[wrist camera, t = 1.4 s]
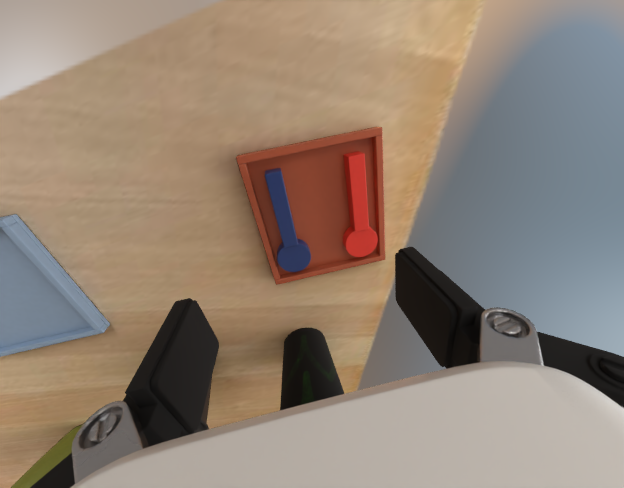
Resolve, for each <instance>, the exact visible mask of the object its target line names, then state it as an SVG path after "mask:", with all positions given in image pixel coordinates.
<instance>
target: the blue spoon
mask: <svg viewBox="0 0 624 488" xmlns="http://www.w3.org/2000/svg"><path fill="white" fill-rule="evenodd" d="M265 179H266V183H267V187H268V190H269V194H270V198H271V201H272V205H273V209H274V212H275V216H276V220H277V224H278V227H279V231H280V235H281V238H282V243H281V244H280V245H279V247H278V250H277V261H278V264H279V265H280V267H281V268H282V269H284V270H286V271H289V272H298V271H301V270H303V269H305V268H306V267H307V266H308V265H309V263H310V260H311V253H310V249H309V246H308V245H307V243H306V242H304V241H303V240H301V239H297V236H296V232H295V227H294V223H293V219H292V214H291V210H290V206H289V201H288V197H287V193H286V188H285V184H284V180H283V175H282V171H281V168H276V169H271V170H266V171H265Z"/></svg>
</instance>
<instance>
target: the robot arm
mask: <svg viewBox="0 0 624 488" xmlns="http://www.w3.org/2000/svg"><path fill="white" fill-rule="evenodd" d="M395 277H396V301H397V303H398V305H399V306H400V308H401V309H402V311H403V312H404V314H405V315H406V316H407V318H408V319H409V321H410V322H411V324H412V325H413V327H414V328H415V330H416V331H417V332H418V334H419V336H420V337H421V338H422V340H423V341H424V343H425V344H426V346H427V347H428V349H429V350H430V351H431V353H432V355H433V356H434V357H435V359H436V360H437V362H438V363H439V364H440V365H441V366H442V367H444V366H445V367H446V369H444V370H440V371H435V372H431V373H427V374H422V375H418V376H414V377H410V378H406V379H402V380H398V381H394V382H390V383H386V384H382V385H378V386H374V387H370V388H366V389H362V390H358V391H354V392H350V393H346V394H342V395H338V396H334V397H331V398H327V399H323V400H319V401H315V402H311V403H307V404H303V405H300V406H296V407H292V408H288V409H284V410H280V411H276V412H273V413H269V414H265V415H261V416H257V417H254V418H250V419H246V420H242V421H238V422H235V423H231V424H227V425H223V426H220V427H216V428H212V429H208V430H204V431H201V432H197V433H194V432H195V431H196V430H197V429H198V428H199V425H200V421H201V417H202V413H203V409H204V405H205V401H206V397H207V393H208V389H209V385H210V381H211V377H212V373H213V369H214V365H215V361H216V357H217V352H218V348H219V342H218V339H217V337H216V336H215V334H214V332H213V330H212V328H211V327H210V325H209V323H208V321H207V319H206V317H205V316H204V314H203V312H202V310H201V308H200V307H199V305H198V303H197V301H195V300H194V301H193V300H192V299H190V298H188V299H184V300H180V301H176V302H175V303H174V305H173V307H172V309H171V310H170V312H169V314H168V316H167V318H166V319H165V321H164V323H163V325H162V327H161V328H160V330H159V332H158V334H157V336H156V337H155V339H154V341H153V343H152V345H151V346H150V348H149V350H148V352H147V354H146V355H145V357H144V359H143V361H142V363H141V365H140V366H139V368H138V370H137V372H136V374H135V375H134V377H133V379H132V381H131V383H130V384H129V386H128V388H127V390H126V392H125V393H126V394H127V395H126V396H125V398H124V400H123V401H115V402H112V403H110V404H107V405H105V406H104V407H102V408H101V409H99V410H98V411H96V412H95V413H94V414H93V415H92V416H91V417H89V419H88V420H87V421H86V422H85V423H84V424H83V425H82V426H81V428H80V429H79V431H78V432H77V434H76V436H75V438H74V440H73V443H72V453H70V454H69V455H68V456H67V457H66V458H64V459H63V460H62V461H61V462H60V463H59V464H57V465H56V466H55V467H54V468H53V469H51V470H50V471H49V472H48V473H47V474H45V475H44V476H43V477H42V478H41V479H40V480H38V481H37V482H36V483H35V484H34V485H32V486H31V487H30V488H624V357H622V356H619V355H616V354H614V353H610V352H607V351H603V350H600V349H596V348H593V347H589V346H586V345H582V344H579V343H575V342H572V341H568V340H565V339H561V338H558V337H554V336H550V335H547V334H544V333H540V332H537V330H536V328H535V326H534V324H533V323H532V322H531V321H530V320H529V319H527V318H526V317H525V316H523V315H522V314H519V313H517V312H515V311H513V310H509V309H505V308H490V309H487V310H485V309H484V308H482V307H481V306H480V305H479V304H478V303H477V302H475V300H473V299H472V298H471V297H470V296H469V295H468V294H467V293H465V292H464V291H463V290H462V289H461V288H460V287H459V286H458V285H456V284H455V283H454V282H453V281H452V280H451V279H450V278H449V277H447V276H446V275H445V274H444V273H443V272H442V271H440V270H438V269H437V268H436V267H435V266H434V265H433V264H432V263H430V262H429V261H428V260H427V259H426V258H425V257H424V256H423V255H421V254H420V253H419V252H418V251H417V250H416V249H415V248H413V247H408V248H403V249H400V250H399V252H398V253H396V255H395Z"/></svg>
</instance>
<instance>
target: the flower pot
mask: <svg viewBox="0 0 624 488" xmlns="http://www.w3.org/2000/svg"><path fill="white" fill-rule="evenodd" d="M81 426H82V425H80V426H77V427H75V428H74V429H72V430H71V431H70V432H69V433H68V434H67V435H65V436H64V437H63V438H62V439H61V440H60V441H59V442H58V443H57V444H56V445H54V446H53V447H52V448H51V449H50V450H49V451H48V452H47V453H46V454H45V455H44V456H43V457H42V458H41V459H40V460H38V461H37V462H36V463H35V464H34V465H33V466H32V467H31V468H30V469H29V470H28V471H27V472H26V473H25V474H24V475H23V476H22V477H21V478H20V479H19V480H18V481H17V482H16V483H15V484H14V485H13V486H12V487H11V488H30V487H31V486H32V485H34V484H35V483H36V482H37V481H38V480H40V479H41V478H42V477H43V476H44V475H45V474H47V473H48V472H49V471H50V470H51V469H53V468H54V467H55V466H56V465H57V464H59V463H60V462H61V461H62V460H63V459H64V458H66V457H67V456H68V455H69V454H70V453H72V443H73V440H74V438H75V436H76V434H77V432H78V431H79V429H80V428H81Z"/></svg>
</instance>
